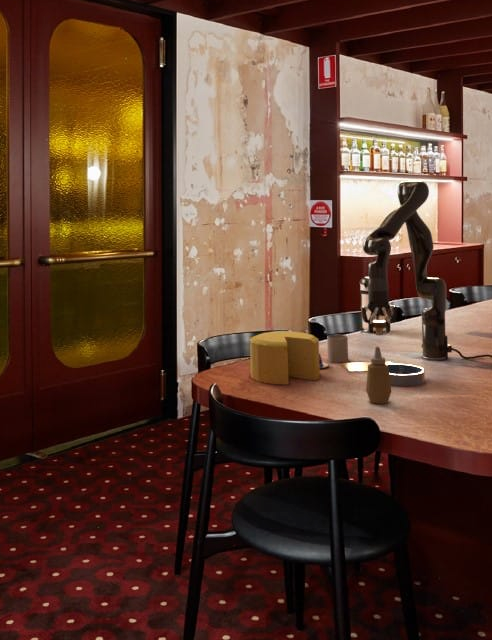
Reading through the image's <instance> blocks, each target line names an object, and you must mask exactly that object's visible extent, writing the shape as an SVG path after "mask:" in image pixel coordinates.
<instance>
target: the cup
mask: <svg viewBox="0 0 492 640" xmlns="http://www.w3.org/2000/svg"><path fill="white" fill-rule="evenodd" d="M348 338H349V337H348V335H347V334H329V335H326V341H327V342H326V343H327V344H326V345H327V361H328V362H329V363H333V364H334V363H335V364H336V363H337V364H343V363H349V339H348Z"/></svg>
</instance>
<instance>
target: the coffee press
mask: <svg viewBox="0 0 492 640" xmlns="http://www.w3.org/2000/svg"><path fill="white" fill-rule="evenodd" d="M368 279H369V277H368V276H364V277H362V278H360V281H359V285H360V289H359V293H360V308H361V307H365V306H368V303H369V298H368ZM370 313H371V311H370V310H369V309H367V312H366V314H367V319H368V320H369V317H370ZM374 320H384V321H385V318H384V317H383V316H381V315H379V316H376V317H375V319H374ZM361 329H362V330H361ZM366 330H367V331H369V328H368V323H366V322H364V321H363V317H362V312H361V311H360V328H358V331H359V333H363V332H364V331H366ZM383 330H386V329H385V328H383ZM373 331H375V332H376V328H373Z"/></svg>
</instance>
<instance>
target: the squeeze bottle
mask: <svg viewBox="0 0 492 640" xmlns="http://www.w3.org/2000/svg"><path fill="white" fill-rule="evenodd" d="M370 362H371V364H369V365H368V371H367V372H366V373H367V374H366V385H365V391H366V394H367V398H368V399H369V402H370V403H372V404H377V405H378V404H387V403H388V402H389V401H390V397H391V394H392V385H391V384H390V377H389V369H388V366H387V365H386V364H385V362H386V358H385V357H383V356H382V353H381V348H380V346H375V348H374V353H373V356H371V357H370Z"/></svg>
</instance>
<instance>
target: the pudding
mask: <svg viewBox="0 0 492 640" xmlns="http://www.w3.org/2000/svg"><path fill="white" fill-rule="evenodd" d="M327 367H329V364H328V363H326V362H323V359H322V355H321V354H320V353H319V370H321V369H324V368H327Z"/></svg>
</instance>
